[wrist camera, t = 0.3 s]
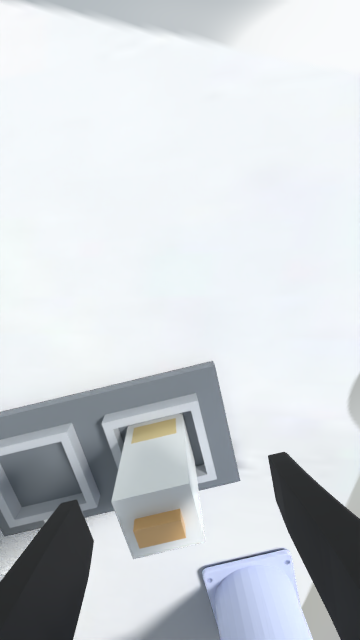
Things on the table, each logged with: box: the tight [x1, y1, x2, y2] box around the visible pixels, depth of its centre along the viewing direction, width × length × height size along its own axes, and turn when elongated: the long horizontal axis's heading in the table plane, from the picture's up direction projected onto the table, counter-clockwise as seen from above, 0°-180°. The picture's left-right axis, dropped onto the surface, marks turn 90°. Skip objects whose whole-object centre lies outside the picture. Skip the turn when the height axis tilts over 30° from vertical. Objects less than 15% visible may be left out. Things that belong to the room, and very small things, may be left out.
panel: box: [0, 361, 240, 536], centre depth 20 cm, size 10×19×2 cm, turn 103°
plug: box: [111, 413, 206, 559], centre depth 16 cm, size 4×4×7 cm
